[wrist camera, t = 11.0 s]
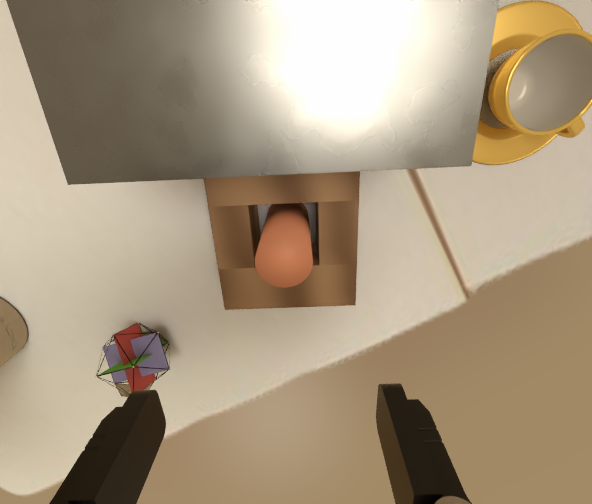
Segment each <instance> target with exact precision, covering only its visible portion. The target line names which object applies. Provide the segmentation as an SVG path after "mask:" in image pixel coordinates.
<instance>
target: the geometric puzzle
mask: <svg viewBox="0 0 592 504" xmlns="http://www.w3.org/2000/svg"><path fill="white" fill-rule="evenodd" d="M139 324H140V323H139V322H138V323H137V324H135V325H133V326H131V327H129V328H126V329H124V330H122V331H120V332H118V333H116V334H113V336H114V340H115V342H116V344H113V345H110V344H109V343H108V344H109V346H106V344H105V345H104V347H102V348H103V349H104V352H105V356H106V359H107V362H108V365H109V369H108V370H106V371H104V372H103V373H101V374H100V375H98V376H102V375H106V374H109V373H111V374H112V378H113V381H114V384H115V385H116V387H117V389H118V391H119V393H120V395H121V396H125V397H129V395H130V394H131V392H133V391H138V390H149V389H150V387H151V386H152V384H153V383H154V381H155V380H157V379H158V377H157V376H156V377H155V374H154V373H157V372H161V371H165V370H167V371H168V370H170V362H169V365H168V362H167V359H166V356H165V353H166V352H165V353H164V349H163V347H164V346H165V345H167V344H168V343H170V342H168V343H165V344H162V343H161V340H160V338H161V337H160V336H159V332H152V331H151V333H153V334H150V335H146V336H142V334H145V333H141V330H140V327H139ZM140 325H142V324H140ZM143 327H144V325H143ZM145 328H146V326H145ZM147 328H148V327H147ZM147 328H146V329H147ZM148 330H149V329H148ZM149 331H150V330H149ZM113 336H112V338H113ZM162 337H163V336H162ZM163 338H164V337H163ZM163 338H162V339H163ZM164 339H165V338H164ZM164 339H163V340H164ZM109 340H110V339H109ZM111 340H112V339H111ZM114 340H113V341H114ZM165 341H167V340H166V339H165ZM111 342H112V341H110V343H111ZM108 344H107V345H108ZM168 345H169V344H168ZM105 346H106V347H105ZM167 348H168V346H167ZM103 349H102V350H103ZM166 351H167V349H166ZM101 355H102V354H101ZM105 356H104V357H105ZM100 359H101V358H100ZM103 360H104V358H103ZM102 362H103V361H102ZM99 363H100V362H99ZM101 365H102V363H101ZM100 367H101V366H100ZM98 368H99V367H98ZM99 369H100V368H99ZM167 371H166V372H167ZM97 372H99V371H97ZM166 372H164V373H166ZM164 373H163V374H164ZM97 374H98V373H97ZM163 374H162V375H163ZM157 375H158V373H157ZM162 375H160V376H162ZM98 376H97V375H96V376H95V377H98ZM98 378H100V377H98ZM101 380H102V378H101ZM104 380H105V379H104ZM104 380H103V381H104ZM126 380H128V383H129V384H117V383H125V382H122V381H126ZM107 381H108V380H107ZM109 382H110V381H109ZM112 383H113V382H112ZM108 384H109V383H108ZM110 385H111V384H110ZM116 387H115V388H116Z"/></svg>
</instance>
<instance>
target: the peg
mask: <svg viewBox="0 0 592 504" xmlns="http://www.w3.org/2000/svg"><path fill="white" fill-rule="evenodd" d="M255 266H256V270H257V272H258V274H259V275H260V277H261V278H262V279H263V280H264V281H266V282H267V283H269V284H271V285H273V286H276V287H282V288H287V287H293V286H296V285H298V284H300V283H301V282H303V281H304V280H305V279H306V278H307V277H308V276H309V274H310V272H311V270H312V266H313V257H312V247H311V237H310V226H309V216H308V211H307V209H306V207H305V206H304V204H303V203H285V204H272V205H271V207H270V208H269V211H268V214H267V217H266V221H265V224H264V228H263V231H262V235H261V238H260V242H259V245H258V249H257V252H256V256H255Z"/></svg>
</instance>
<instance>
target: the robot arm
mask: <svg viewBox="0 0 592 504" xmlns="http://www.w3.org/2000/svg"><path fill="white" fill-rule="evenodd" d="M27 337H28V334H27V328H26V325H25V322H24V321H23V319H22V317H21V316H20V314H19V313H18V312H17V311H16V310H15V309H14V308H13V307H12V306H11V305H10V304H8V303H7V302H6V301H4V300H3V299H1V298H0V367H1V366H2V365H3V364H4V363H6V362H7V361H8V360H9V359H10V358H11V357H12V356H14V355H15V354H16V353H17V352H18V351H19V350H20V349H22V348H23V347H24V345H25V343H26V341H27ZM376 422H377V429H378V434H379V438H380V442H381V446H382V450H383V454H384V458H385V462H386V466H387V470H388V475H389V479H390V483H391V486H392V491H393V495H394V499H395V503H396V504H472V503H471V502H470V501H469V499H468V498H467V496H466V494H465V492H464V490H463V488H462V485H461V483H460V481H459V478H458V476H457V474H456V472H455V469H454V467H453V465H452V462H451V460H450V458H449V456H448V453H447V451H446V448H445V446H444V444H443V443H442V439H441V437H440V435H439V432H438V431H437V429H436V425H435V423H434V421H433V419H432V416H431V414H430V412H429V411H428V410H427V409H426V408H425V406H424V405H423V404H422V403H421V402H420V401H419V400H418V399H417V400H407V398H406V395H405V392H404V390H403V387H402V385H401V384H379V386H378V397H377V410H376ZM165 428H166V420H165V416H164V413H163V409H162V406H161V403H160V399H159V396H158V393H157V391H156V390H138V391H133V392H131V394H130V395H129V397H128V398H127V400H126V402H125V403H124V405H123V407H116V408H115V409H114V410H113V411H111V412H110V413H109V414H108V415H107V416H106V417H105V418H104V419H103V420H102V421H101V423H100V425H99V426H98V428H97V429H96V431H95V432H94V434H93V437H92V438H91V439H90V440H89V442H88V444H87V445H86V447H85V450H84V451H83V452H82V453H81V455H80V456H79V458H78V459H77V461H76V463H75V464H74V466H73V467H72V469H71V471H70V472H69V474H68V475H67V477H66V478H65V480H64V482H63V483H62V485H61V486H60V488H59V490H58V491H57V493H56V495H55V496H54V498H53V499H52V500H51V502H50V504H136V503H137V500H138V498H139V496H140V493H141V491H142V489H143V486H144V483H145V481H146V479H147V476H148V474H149V471H150V469H151V466H152V464H153V462H154V459H155V457H156V454H157V452H158V450H159V447H160V444H161V442H162V440H163V437H164V434H165Z"/></svg>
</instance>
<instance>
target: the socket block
mask: <svg viewBox="0 0 592 504" xmlns="http://www.w3.org/2000/svg"><path fill="white" fill-rule="evenodd" d="M359 178H360V171H352V172H330V173H309V174H287V175H265V176H244V177H222V178H204V184H205V190H206V196H207V202H208V208H209V215H210V221H211V227H212V233H213V239H214V245H215V251H216V257H217V264H218V270H219V276H220V282H221V288H222V294H223V300H224V307H225V310H229V309H258V308H287V307H316V306H345V305H355V301H356V270H357V240H358V209H359ZM308 202H316V236H317V243H311V247H312V257H313V266H312V270H311V272H310V274H309V276H308V277H307V278H306V279H305V280H304V281H303V282H301V283H300V284H298V285H296V286H293V287H287V288H282V287H276V286H273V285H271V284H269V283H267V282H266V281H264V280H263V279H262V278H261V277H260V275H259V274H258V272H257V270H256V266H255V256H256V252H257V249H258V245H259V242H260V228H259V218H258V208H257V205H262V204H285V203H308Z"/></svg>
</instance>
